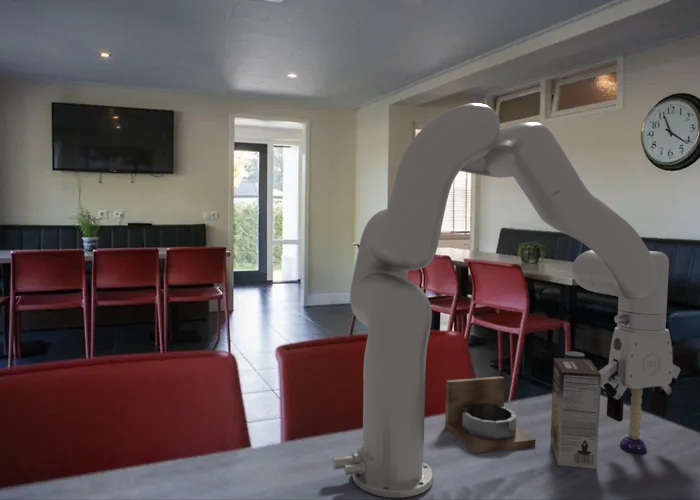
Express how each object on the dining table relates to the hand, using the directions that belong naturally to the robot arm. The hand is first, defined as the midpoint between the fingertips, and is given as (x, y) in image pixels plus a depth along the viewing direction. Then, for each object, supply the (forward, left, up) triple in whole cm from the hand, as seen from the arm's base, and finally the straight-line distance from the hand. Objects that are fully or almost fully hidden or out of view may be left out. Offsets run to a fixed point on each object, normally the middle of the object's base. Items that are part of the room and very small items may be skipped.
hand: (636, 416), depth 98 cm
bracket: (-23, +11, -6) cm, 26 cm away
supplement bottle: (+4, +22, -6) cm, 23 cm away
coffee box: (-13, 0, -6) cm, 14 cm away
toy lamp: (0, 0, -6) cm, 6 cm away
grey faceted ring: (-23, +11, -5) cm, 26 cm away
